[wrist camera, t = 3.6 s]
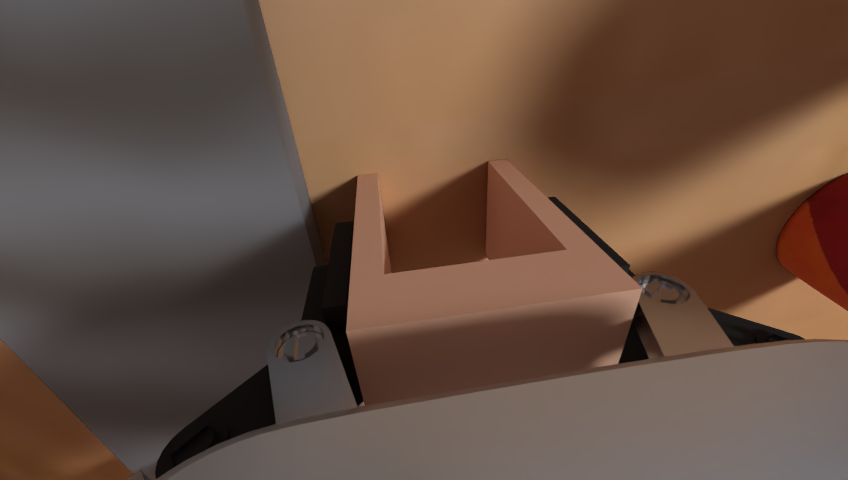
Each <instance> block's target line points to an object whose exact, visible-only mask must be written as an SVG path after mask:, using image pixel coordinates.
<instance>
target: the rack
mask: <svg viewBox="0 0 848 480" xmlns="http://www.w3.org/2000/svg"><path fill="white" fill-rule="evenodd" d="M322 265H327V264H326V260H325V256H324V252H323V248H322V244H321V240H320V237H319V233H318V229H317V225H316V221H315V217H314V213H313V210H312V206H311V202H310V198H309V194H308V190H307V186H306V183H305V179H304V175H303V171H302V167H301V163H300V159H299V156H298V152H297V148H296V144H295V140H294V136H293V133H292V129H291V125H290V121H289V117H288V113H287V109H286V106H285V102H284V98H283V94H282V90H281V86H280V82H279V79H278V75H277V71H276V67H275V63H274V59H273V55H272V52H271V48H270V44H269V40H268V36H267V32H266V28H265V25H264V21H263V17H262V13H261V9H260V5H259V1H258V0H0V339H1V340H2V341H3V342H4V343H5V344H6V345H7V346H8V347H9V348H10V349H11V350H12V351H13V352H14V353H15V354H16V355H17V356H18V357H19V358H20V359H21V360H22V361H23V362H24V363H25V364H26V365H27V366H28V367H29V368H30V370H31V371H32V372H33V373H34V374H35V375H36V376H37V377H38V378H39V379H40V380H41V381H42V382H43V383H44V384H45V385H46V386H47V387H48V388H49V389H50V390H51V391H52V392H53V393H54V394H55V395H56V396H57V397H58V398H59V399H60V400H61V401H62V402H63V403H64V404H65V405H66V406H67V407H68V408H69V409H70V410H71V411H72V412H73V413H74V414H75V415H76V416H77V417H78V418H79V419H80V420H81V421H82V422H83V423H84V424H85V425H86V426H87V427H88V429H89V430H90V431H91V432H92V433H93V434H94V435H95V436H96V437H97V438H98V439H99V440H100V441H101V442H102V443H103V444H104V445H105V446H106V447H107V448H108V449H109V450H110V451H111V452H112V453H113V454H114V455H115V456H116V457H117V458H118V459H119V460H120V461H121V462H122V463H123V464H124V465H125V466H126V467H127V468H128V469H129V470H130V471H131V472H132V473H133V474H135V473H137V472H138V471H140V470H141V471H142V472H143V473H144V474H146V473H147V472H148V471H150V470H151V469H152V468H154V467H155V466H156V464H157V461H158V459H159V457H160V455H161V453H162V451H163V449H164V448H165V447H166V445H167V444H168V443H169V442H170V440H171V439H172V438H173V437H174V436H175V435H176V434H178V433H179V432H180V431H181V430H182V429H183V428H185V427H186V426H187V425H188V424H190V423H191V422H192V421H194V420H195V419H196V418H198V417H199V416H200V415H202V414H203V413H204V412H206V411H207V410H208V409H210V408H211V407H212V406H213V405H215V404H216V403H217V402H219V401H220V400H221V399H223V398H224V397H225V396H227V395H228V394H229V393H231V392H232V391H233V390H235V389H236V388H237V387H238V386H240V385H241V384H242V383H244V382H245V381H246V380H248V379H249V378H250V377H252V376H253V375H254V374H256V373H257V372H258V371H260V370H261V369H262V368H263V367H265V366H266V365H267V364H268V360H267V347H268V345H269V343H270V341H271V339H272V338H273V337H274V336H275V335H276V334H277V333H278V332H279V331H280V330H282V329H283V328H285V327H286V326H288V325H291V324H293V323H295V322H299V321H301V319H302V314H303V310H304V306H305V301H306V297H307V293H308V288H309V284H310V280H311V275H312V271H313V268H314V267H315V266H322ZM362 406H363V402H362V403H361V404H360V405H359V406H358V407H362Z"/></svg>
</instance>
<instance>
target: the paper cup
mask: <svg viewBox="0 0 848 480" xmlns="http://www.w3.org/2000/svg"><path fill="white" fill-rule="evenodd" d="M776 255H777V259H778V261H779V262H780V264H781V265H783V266H784V267H785V268H786V269H787V270H789V271H790V272H791V273H793V274H794V275H795V276H797V277H798V278H800V279H801V280H803V281H804V282H806V283H807V284H808V285H810V286H811V287H813V288H814V289H816V290H817V291H819V292H820V293H822V294H823V295H825V296H826V297H828V298H829V299H831V300H832V301H834V302H835V303H837V304H838V305H840V306H841V307H843V308H844V309H846V310H847V311H848V174H845V175H843V176H841V177H839V178H837V179H835V180H834V181H832V182H830V183H829V184H827V185H825V186H824V187H822V188H821V189H820V190H818V191H817V192H816V193H814V194H813V195H812V196H811V197H810V198H808V199H807V200H806V201H805V202H804V203H803V204H802V205H801V206H800V207H799V208H798V209H797V210H796V211H795V213H794V214H793V215H792V216H791V218H790V219H789V220H788V222H787V223H786V225H785V226H784V228H783V230H782V232H781V234H780V236H779V239H778V242H777V247H776Z"/></svg>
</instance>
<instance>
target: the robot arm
mask: <svg viewBox="0 0 848 480" xmlns="http://www.w3.org/2000/svg"><path fill="white" fill-rule="evenodd" d="M548 199H549V200H550V201H551V202H552V203H554V204H555V205H556V206H557V207H558V208H559V209H560V210H561V211H562V212H563V213H564V214H565V215H566V216H567V217H568V218H569V219H570V220H571V221H572V222H573V223H575V224H576V225H577V226H578V227H579V228H580V229H581V230H582V231H583V232H584V233H585V234H586V235H587V236H588V237H589V238H590V239H591V240H592V241H593V242H594V243H596V244H597V245H598V246H599V247H600V248H601V249H602V250H603V251H604V252H605V253H606V254H607V255H608V256H609V257H610V258H611V259H612V260H613V261H614V262H616V263H617V264H618V265H619V266H620V267H621V268H622V269H623V270H624V271H625V272H626V273H627V274H628V275H629V276H630V277H631V278H632V279H633V280H634V281H635V282H637V283H638V284H639V285H640V286H641V287H642V288H643V289H642V292H641V295H640V298H639V301H638V304H637V307H636V310H635V314H634V317H633V320H632V323H631V326H630V329H629V332H628V335H627V338H626V341H625V344H624V347H623V350H622V354H621V357H620V360H619V363H618V364H614V365H608V366H602V367H595V368H589V369H583V370H577V371H571V372H565V373H558V374H552V375H546V376H540V377H534V378H528V379H521V380H515V381H509V382H503V383H497V384H491V385H485V386H479V387H473V388H467V389H461V390H455V391H449V392H443V393H437V394H431V395H425V396H419V397H413V398H407V399H402V400H396V401H390V402H384V403H378V404H373V405H367V406H362V407H358V406H359V405H360V404H361V403H362V402H364V401H363V397H362V393H361V389H360V385H359V381H358V377H357V373H356V369H355V365H354V361H353V357H352V353H351V349H350V345H349V341H348V338H347V334H346V325H347V311H348V298H349V285H350V271H351V258H352V245H353V232H354V222H353V221H352V222H344V223H336V224H335V230H334V235H333V241H332V247H331V253H330V259H329V265H322V266H315V267H314V268H313V271H312V275H311V280H310V284H309V288H308V293H307V297H306V301H305V306H304V310H303V314H302V319H301V321H299V322H295V323H293V324H291V325H288V326H286V327H285V328H283V329H282V330H280V331H279V332H278V333H277V334H276V335H275V336H274V337H273V338H272V339H271V341H270V343H269V345H268V347H267V360H268V364H267V365H266V366H265V367H263V368H262V369H261V370H260V371H258V372H257V373H256V374H254V375H253V376H252V377H250V378H249V379H248V380H246V381H245V382H244V383H242V384H241V385H240V386H238V387H237V388H236V389H235V390H233V391H232V392H231V393H229V394H228V395H227V396H225V397H224V398H223V399H221V400H220V401H219V402H217V403H216V404H215V405H213V406H212V407H211V408H210V409H208V410H207V411H206V412H204V413H203V414H202V415H200V416H199V417H198V418H196V419H195V420H194V421H192V422H191V423H190V424H188V425H187V426H186V427H185V428H183V429H182V430H181V431H180V432H179V433H178V434H176V435H175V436H174V437H173V438H172V439H171V440H170V442H169V443H168V444H167V445H166V447H165V448H164V449H163V451H162V453H161V455H160V457H159V459H158V461H157V464H156V466H155V467H154V468H152V469H151V470H150V471H148V472H147V473H146V474H144V473H143V472H142V471H141V470H140V471H138V472H137V473H135V474H134V475H133V476H131V477H130V478H128V479H127V480H848V340H830V339H806V340H805V339H804V338H802V337H800V336H797V335H795V334H792V333H788V332H785V331H782V330H779V329H776V328H772V327H769V326H766V325H763V324H759V323H756V322H753V321H749V320H746V319H743V318H740V317H736V316H733V315H730V314H727V313H723V312H720V311H717V310H713V309H710V308H707V307H706V305H705V304H704V302H703V301H702V300H701V298H700V297H699V295H698V294H697V292H696V291H695V290H694V289H693V288H692V287H691V286H690V285H689V284H687V283H686V282H684V281H683V280H681V279H679V278H677V277H674V276H672V275H668V274H665V273H659V272H642V273H638V274H636V275H634V274H633V273H632V272H631V271H630V270H629V267H630V265H629V264H628V263H627V262H626V261H625V260H624V259H623V258H621V257H620V256H619V255H618V254H617V253H616V252H615V251H614V250H613V249H612V248H611V247H609V246H608V245H607V244H606V243H605V242H604V241H603V240H602V239H601V238H600V237H598V236H597V235H596V234H595V233H594V232H593V231H592V230H591V229H590V228H589V227H588V226H586V225H585V224H584V223H583V222H582V221H581V220H580V219H579V218H578V217H577V216H575V215H574V214H573V213H572V212H571V211H570V210H569V209H568V208H567V207H566V206H564V205H563V204H562V203H561V202H560V201H559V200H558V199H557V198H555V197H549V198H548Z"/></svg>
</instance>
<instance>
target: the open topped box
mask: <svg viewBox="0 0 848 480" xmlns="http://www.w3.org/2000/svg"><path fill="white" fill-rule="evenodd" d="M486 255H487V257H488V259H489V260H486V261H479V262H471V263H464V264H456V265H449V266H442V267H434V268H427V269H419V270H412V271H404V272H397V273H391V264H390V257H389V250H388V243H387V236H386V229H385V222H384V215H383V208H382V201H381V194H380V187H379V180H378V174H370V175H361V176H358V178H357V192H356V205H355V218H354V232H353V245H352V258H351V271H350V285H349V298H348V311H347V325H346V334H347V338H348V341H349V345H350V349H351V353H352V357H353V361H354V365H355V369H356V373H357V377H358V381H359V385H360V389H361V393H362V397H363V401H364V404H365V406H367V405H373V404H378V403H384V402H390V401H396V400H402V399H407V398H413V397H419V396H425V395H431V394H437V393H443V392H449V391H455V390H461V389H467V388H473V387H479V386H485V385H491V384H497V383H503V382H509V381H515V380H521V379H528V378H534V377H540V376H546V375H552V374H558V373H565V372H571V371H577V370H583V369H589V368H595V367H602V366H608V365H614V364H618V363H619V360H620V357H621V354H622V350H623V347H624V344H625V341H626V338H627V335H628V332H629V329H630V326H631V323H632V320H633V317H634V314H635V310H636V307H637V304H638V301H639V298H640V295H641V292H642V289H643V288H642V287H641V286H640V285H639V284H638V283H637V282H635V281H634V280H633V279H632V278H631V277H630V276H629V275H628V274H627V273H626V272H625V271H624V270H623V269H622V268H621V267H620V266H619V265H618V264H617V263H616V262H614V261H613V260H612V259H611V258H610V257H609V256H608V255H607V254H606V253H605V252H604V251H603V250H602V249H601V248H600V247H599V246H598V245H597V244H596V243H594V242H593V241H592V240H591V239H590V238H589V237H588V236H587V235H586V234H585V233H584V232H583V231H582V230H581V229H580V228H579V227H578V226H577V225H576V224H575V223H573V222H572V221H571V220H570V219H569V218H568V217H567V216H566V215H565V214H564V213H563V212H562V211H561V210H560V209H559V208H558V207H557V206H556V205H555V204H554V203H552V202H551V201H550V200H549V199H548V198H547V197H546V196H545V195H544V194H543V193H542V192H541V191H540V190H539V189H538V188H537V187H536V186H535V185H534V184H532V183H531V182H530V181H529V180H528V179H527V178H526V177H525V176H524V175H523V174H522V173H521V172H520V171H519V170H518V169H517V168H516V167H515V166H514V165H513V164H511V163H510V162H509V161H508V160H507V159H504V160H495V161H488V185H487V221H486Z"/></svg>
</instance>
